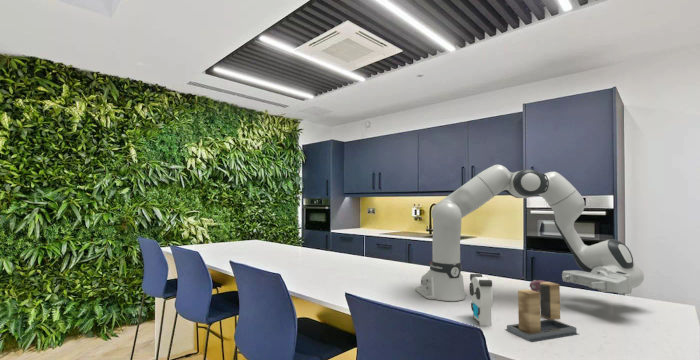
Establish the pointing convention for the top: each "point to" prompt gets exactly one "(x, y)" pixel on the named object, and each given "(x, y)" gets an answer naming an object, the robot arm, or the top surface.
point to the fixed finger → (529, 311)
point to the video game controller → (536, 285)
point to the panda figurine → (481, 298)
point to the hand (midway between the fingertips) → (577, 282)
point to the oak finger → (550, 300)
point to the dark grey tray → (545, 331)
